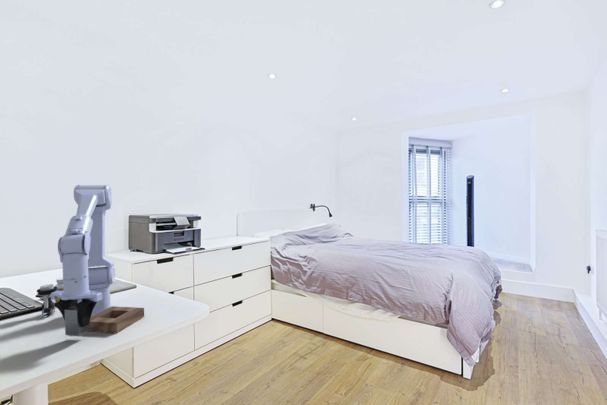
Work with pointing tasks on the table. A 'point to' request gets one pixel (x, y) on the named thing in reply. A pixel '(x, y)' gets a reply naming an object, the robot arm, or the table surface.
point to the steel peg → (74, 322)
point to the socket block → (115, 319)
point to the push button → (47, 299)
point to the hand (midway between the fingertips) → (77, 325)
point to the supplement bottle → (59, 287)
